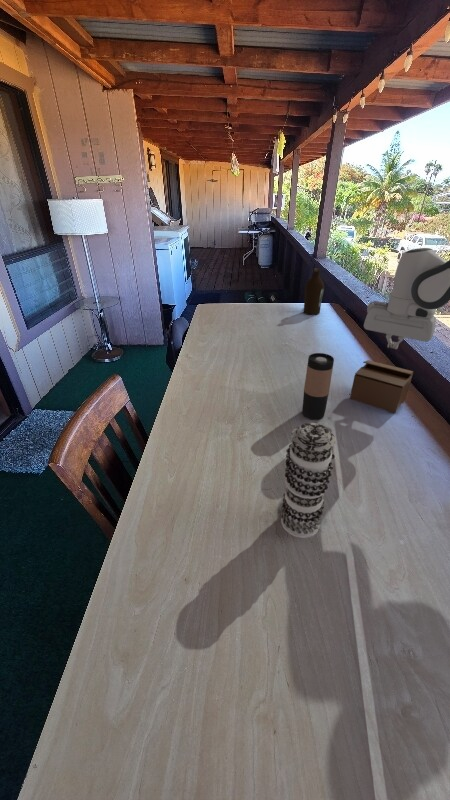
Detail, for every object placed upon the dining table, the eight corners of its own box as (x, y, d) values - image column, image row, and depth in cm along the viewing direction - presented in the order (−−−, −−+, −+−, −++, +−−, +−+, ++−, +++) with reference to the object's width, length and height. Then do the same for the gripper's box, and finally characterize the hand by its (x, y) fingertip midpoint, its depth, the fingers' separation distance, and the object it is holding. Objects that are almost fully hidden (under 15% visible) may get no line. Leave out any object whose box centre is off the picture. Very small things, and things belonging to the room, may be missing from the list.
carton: (348, 402, 121) (354, 373, 115) (361, 387, 130) (368, 360, 124) (394, 416, 113) (403, 386, 107) (404, 400, 122) (413, 371, 116)
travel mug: (311, 405, 119) (318, 350, 109) (329, 414, 114) (339, 358, 104) (296, 413, 115) (302, 357, 105) (315, 423, 110) (324, 365, 100)
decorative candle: (284, 501, 83) (294, 412, 70) (324, 512, 80) (342, 422, 67) (274, 531, 75) (283, 438, 62) (317, 545, 72) (336, 450, 59)
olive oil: (301, 314, 205) (306, 270, 193) (303, 309, 214) (307, 266, 201) (320, 316, 203) (326, 271, 190) (320, 310, 212) (326, 267, 199)
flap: (362, 362, 119) (363, 361, 119) (368, 360, 124) (368, 360, 124) (409, 374, 111) (410, 373, 111) (413, 372, 116) (413, 371, 116)
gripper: (365, 302, 110) (357, 343, 117) (438, 314, 99) (423, 358, 106) (372, 297, 114) (363, 337, 121) (442, 308, 103) (428, 352, 110)
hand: (392, 347), depth 113 cm, fingers closed
